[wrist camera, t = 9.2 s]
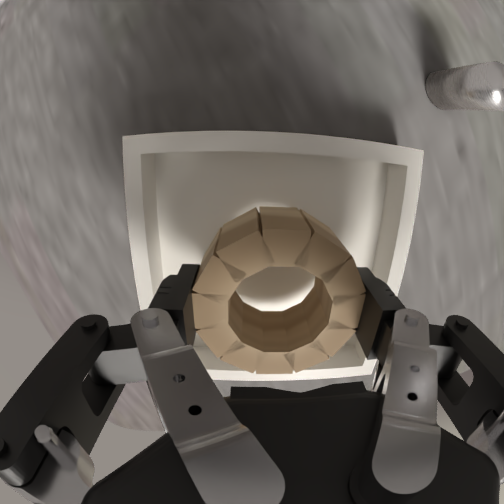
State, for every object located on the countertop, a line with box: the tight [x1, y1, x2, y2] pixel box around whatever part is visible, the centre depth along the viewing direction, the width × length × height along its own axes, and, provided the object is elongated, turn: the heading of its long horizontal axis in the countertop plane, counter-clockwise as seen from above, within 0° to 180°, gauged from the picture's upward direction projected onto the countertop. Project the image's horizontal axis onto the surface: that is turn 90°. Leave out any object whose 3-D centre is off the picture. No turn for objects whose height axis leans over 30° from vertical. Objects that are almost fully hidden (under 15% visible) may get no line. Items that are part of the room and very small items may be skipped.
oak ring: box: [192, 206, 366, 374], centre depth 12 cm, size 6×6×3 cm
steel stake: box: [425, 61, 504, 111], centre depth 9 cm, size 2×2×5 cm
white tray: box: [123, 131, 424, 381], centre depth 14 cm, size 13×13×2 cm
